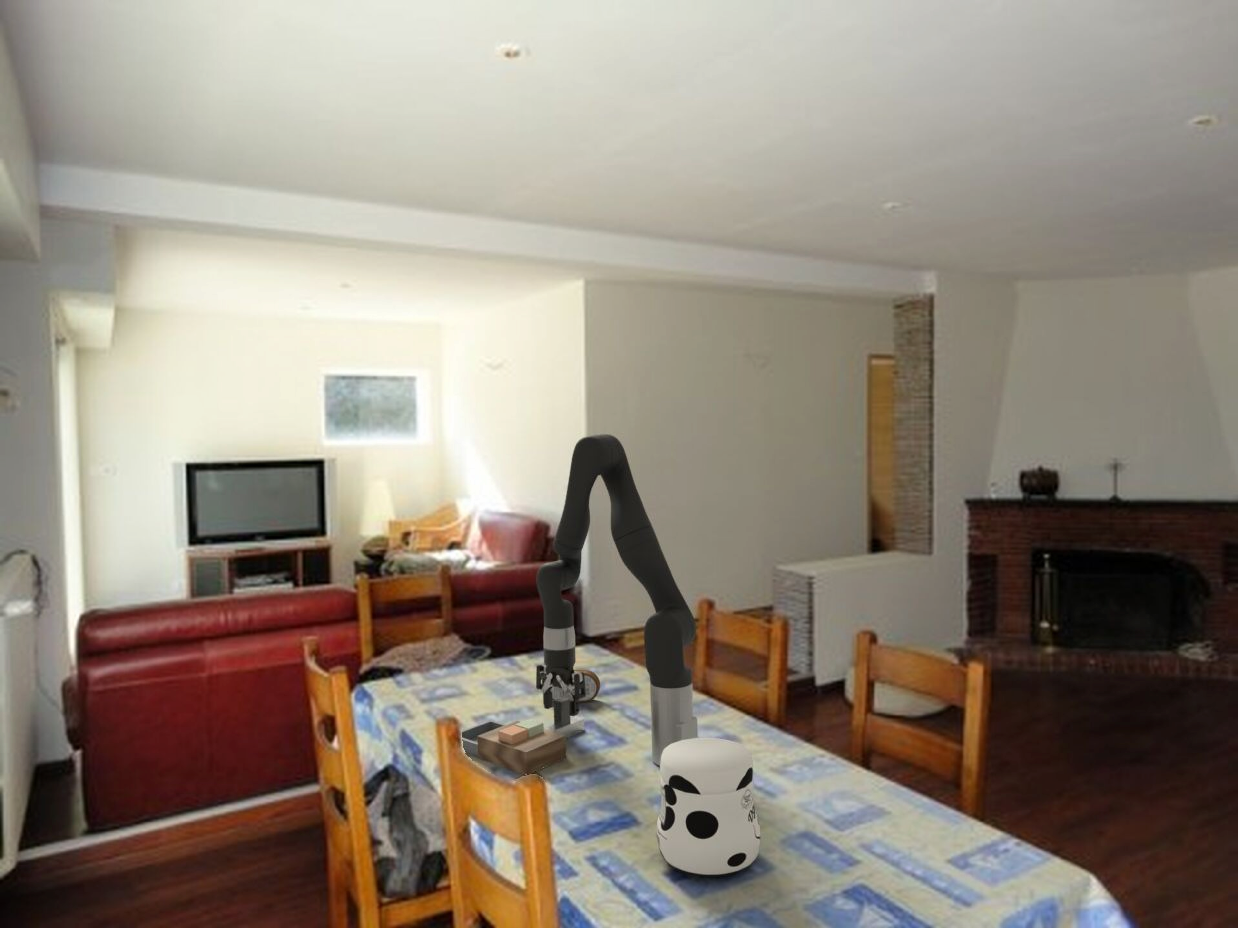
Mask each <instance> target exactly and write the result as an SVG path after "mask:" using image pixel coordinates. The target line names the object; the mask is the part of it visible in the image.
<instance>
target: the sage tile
mask: <svg viewBox="0 0 1238 928" xmlns="http://www.w3.org/2000/svg"><path fill="white" fill-rule="evenodd" d="M519 722H520V723H518V724H515V726H518V727H521V728H524V729H527V737H532V736H534V735H537V734H539V733H542V732H544V728H545V727H544V722H541V721H538V720H535V719H531V718H529V719H526V720H523V721H519Z"/></svg>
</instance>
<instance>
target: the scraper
mask: <svg viewBox="0 0 1238 928" xmlns="http://www.w3.org/2000/svg"><path fill="white" fill-rule="evenodd" d="M569 701H570V699H569V698H565V697H561V698H558V699H555V700H553V722H554V724H552V725H550V726H548V727H544V729H546V730H549V731H553V732H556V733H559V734H562V735H566V739H568V738H569V737H572V736H574V735H576V734H579V733H581V732H583V731H585V730H586V729H585V718H584V717H582V716H581V717H580V716H578V715H575V716H570V706H569Z"/></svg>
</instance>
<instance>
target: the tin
mask: <svg viewBox="0 0 1238 928" xmlns="http://www.w3.org/2000/svg"><path fill="white" fill-rule="evenodd" d="M574 672H575V673H581V672H583V673H584V675H585V690H586V697H584V698H581V699H579V703H589V702H591V701H593V700H594V699H595V698H596V697H597V696H598V694H599V692H600V690H601V681H600V679H599V677H598V675H597V674H596V673H595V672H594V671H591V670H588V669H574ZM547 677H548V676H547ZM568 687H571V684H570V685H569V686H568ZM551 692H552V697H553V700H555V699H558V698H561V697H565V698H569V697H568V695H567V693H565V692H564V690H563V689H561V688H559V687H553V689H552V690H551ZM571 692H572V694H573V695H574V693H573V691H571ZM580 693H581V691H580Z"/></svg>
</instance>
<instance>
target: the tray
mask: <svg viewBox="0 0 1238 928" xmlns="http://www.w3.org/2000/svg"><path fill="white" fill-rule="evenodd" d="M505 725H507V723H506V724H505V723H503V722H499V721H495V720H492V719H490V720H487V721H484V722H482V723H479V724H475V725H473V726H471V727H468V728H465V729H463V730H461V731H462V741H463V748H464V750H465V752H466V753H465V754H466V755H469V756H472V757H474V758H477V759H479V758H478V742H477V736H479V735H481V734H484V733H486V732H489V731H492V730H494V729H497V728H499V727H502V726H505Z"/></svg>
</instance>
